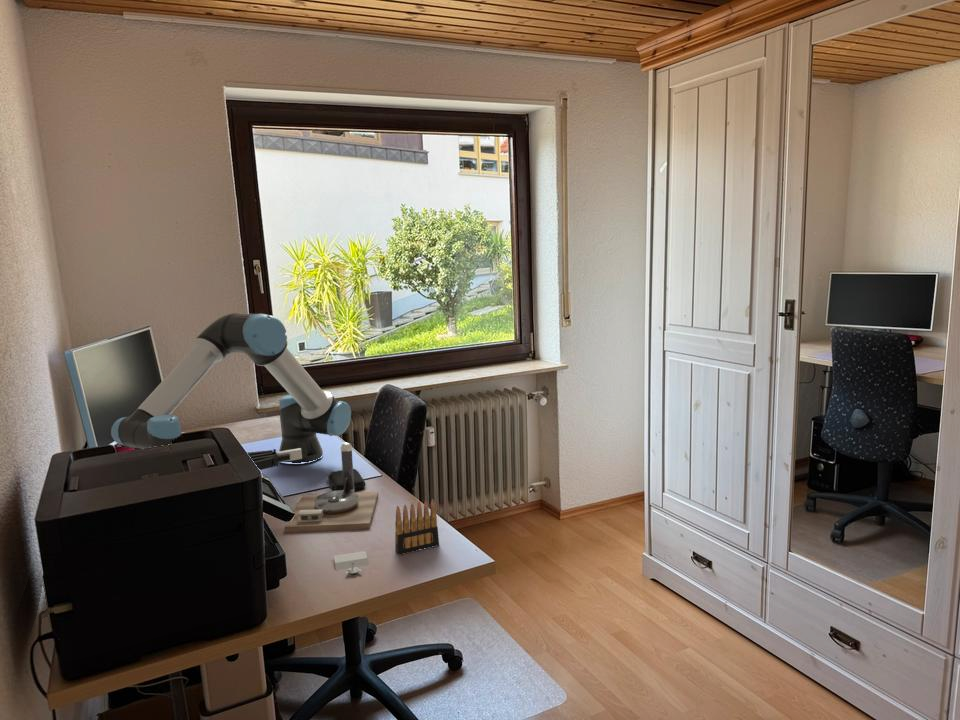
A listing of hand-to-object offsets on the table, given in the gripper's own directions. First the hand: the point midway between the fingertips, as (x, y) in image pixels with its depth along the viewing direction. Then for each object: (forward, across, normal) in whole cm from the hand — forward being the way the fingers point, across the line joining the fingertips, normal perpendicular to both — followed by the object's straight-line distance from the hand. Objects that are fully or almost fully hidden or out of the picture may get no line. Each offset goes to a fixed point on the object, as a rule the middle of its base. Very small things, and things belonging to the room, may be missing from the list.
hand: (301, 453), depth 182 cm
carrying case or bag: (+14, -13, -17) cm, 26 cm away
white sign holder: (+3, +42, -16) cm, 45 cm away
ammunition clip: (+20, +39, -16) cm, 47 cm away
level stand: (+6, +8, -16) cm, 19 cm away
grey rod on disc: (+8, +6, -14) cm, 18 cm away
